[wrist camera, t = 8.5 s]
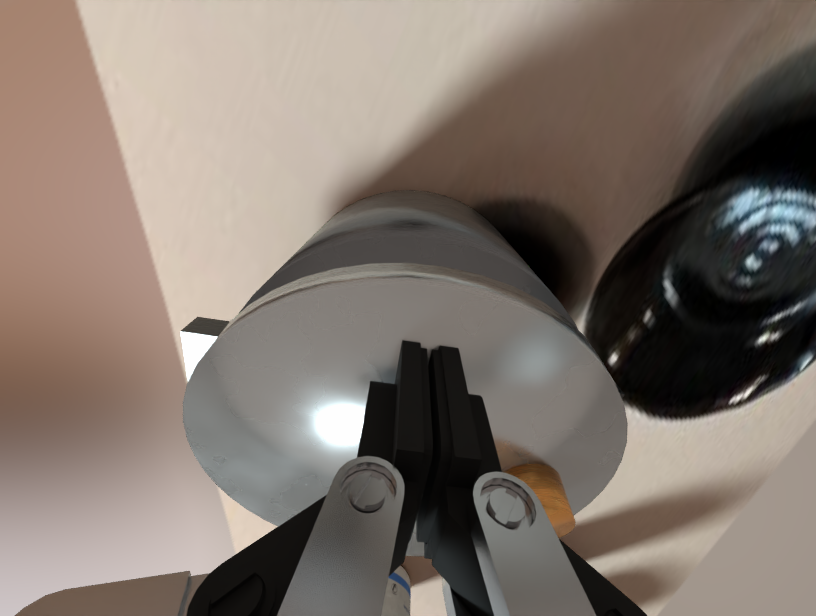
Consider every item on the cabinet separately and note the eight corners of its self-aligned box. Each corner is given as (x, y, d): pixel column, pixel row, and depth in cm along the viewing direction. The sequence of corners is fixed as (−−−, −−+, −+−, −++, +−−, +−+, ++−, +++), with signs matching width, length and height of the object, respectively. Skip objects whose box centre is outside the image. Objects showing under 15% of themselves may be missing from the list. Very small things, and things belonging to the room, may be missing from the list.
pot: (257, 163, 21) (120, 187, 11) (590, 219, 22) (730, 285, 12) (264, 392, 29) (187, 524, 19) (510, 425, 30) (557, 566, 20)
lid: (152, 220, 9) (64, 269, 7) (711, 308, 10) (794, 377, 8) (230, 510, 18) (202, 574, 16) (525, 545, 19) (539, 610, 17)
